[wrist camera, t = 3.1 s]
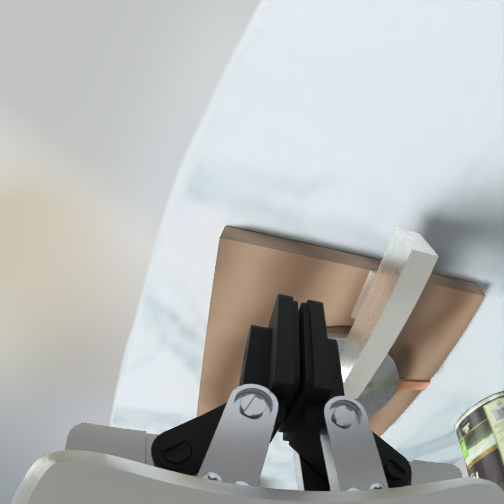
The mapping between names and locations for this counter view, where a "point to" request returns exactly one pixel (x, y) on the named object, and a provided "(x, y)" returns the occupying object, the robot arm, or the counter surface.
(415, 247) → the dial
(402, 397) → the dial board
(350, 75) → the counter surface
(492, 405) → the coffee can
